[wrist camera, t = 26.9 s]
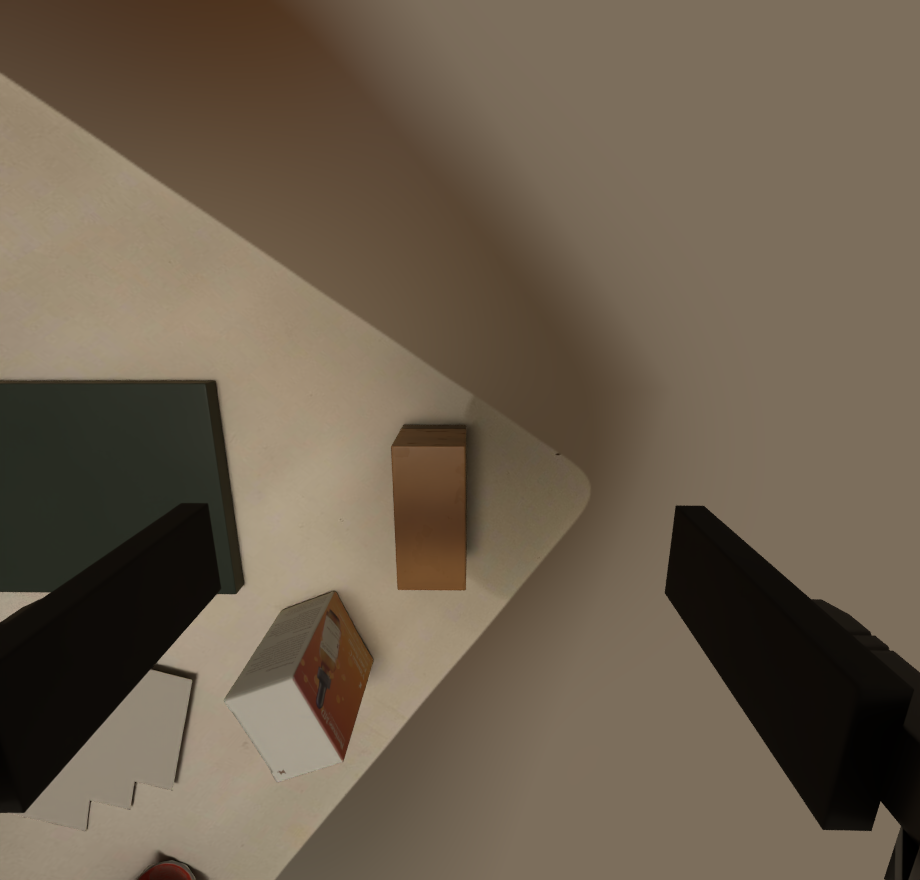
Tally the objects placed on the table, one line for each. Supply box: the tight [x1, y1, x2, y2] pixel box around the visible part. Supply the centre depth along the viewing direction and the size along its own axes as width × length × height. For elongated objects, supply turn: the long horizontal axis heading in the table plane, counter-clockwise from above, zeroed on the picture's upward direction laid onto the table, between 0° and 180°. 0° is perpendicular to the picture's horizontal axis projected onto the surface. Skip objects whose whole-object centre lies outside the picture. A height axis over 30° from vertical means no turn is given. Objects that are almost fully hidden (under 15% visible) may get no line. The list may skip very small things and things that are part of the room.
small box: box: [224, 591, 373, 782], centre depth 39 cm, size 8×6×10 cm
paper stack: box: [10, 669, 192, 831], centre depth 47 cm, size 23×25×1 cm
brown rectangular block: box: [391, 425, 467, 590], centre depth 37 cm, size 11×5×6 cm, turn 0°
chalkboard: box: [0, 381, 244, 594], centre depth 40 cm, size 18×24×2 cm
